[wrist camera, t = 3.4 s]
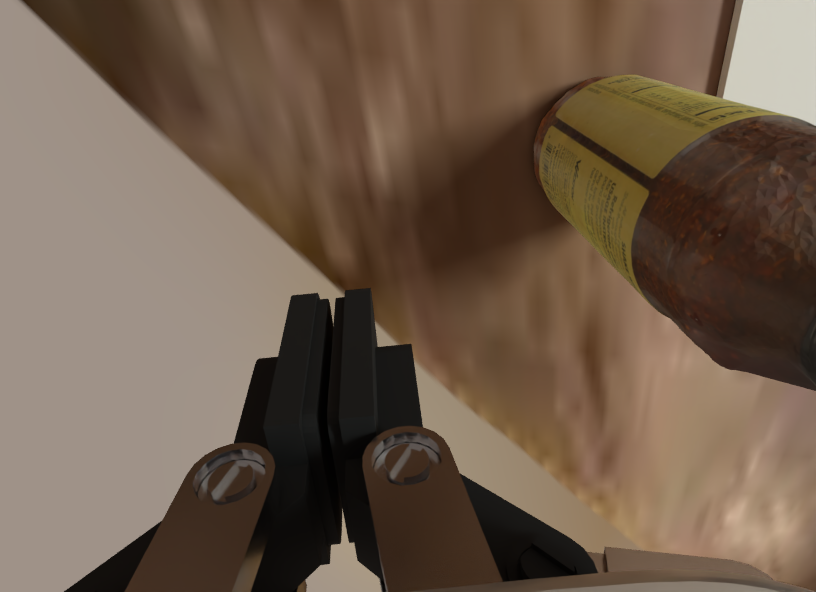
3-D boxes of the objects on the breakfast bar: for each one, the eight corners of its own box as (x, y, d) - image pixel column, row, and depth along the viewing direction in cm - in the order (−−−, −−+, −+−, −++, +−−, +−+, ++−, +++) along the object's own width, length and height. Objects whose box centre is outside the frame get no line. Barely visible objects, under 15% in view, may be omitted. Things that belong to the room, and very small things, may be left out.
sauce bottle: (605, 230, 27) (1039, 685, 10) (499, 171, 25) (803, 603, 8) (700, 107, 24) (1530, 430, 7) (589, 30, 22) (1353, 214, 5)
